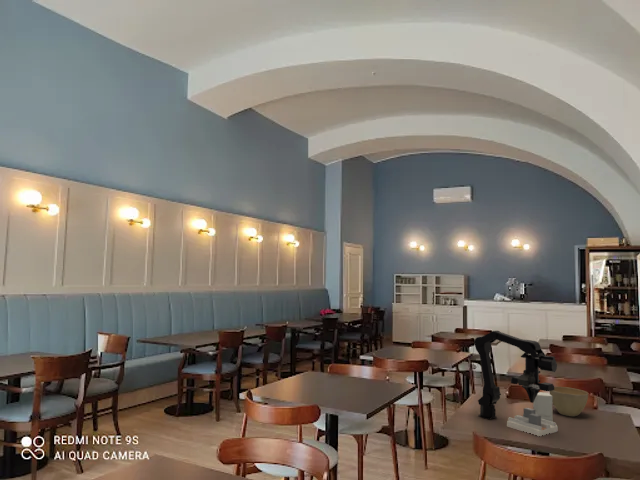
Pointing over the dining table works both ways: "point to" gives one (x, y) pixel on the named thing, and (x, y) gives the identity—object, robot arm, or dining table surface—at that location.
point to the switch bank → (532, 425)
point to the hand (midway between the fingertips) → (531, 402)
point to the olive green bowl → (569, 400)
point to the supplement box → (543, 406)
